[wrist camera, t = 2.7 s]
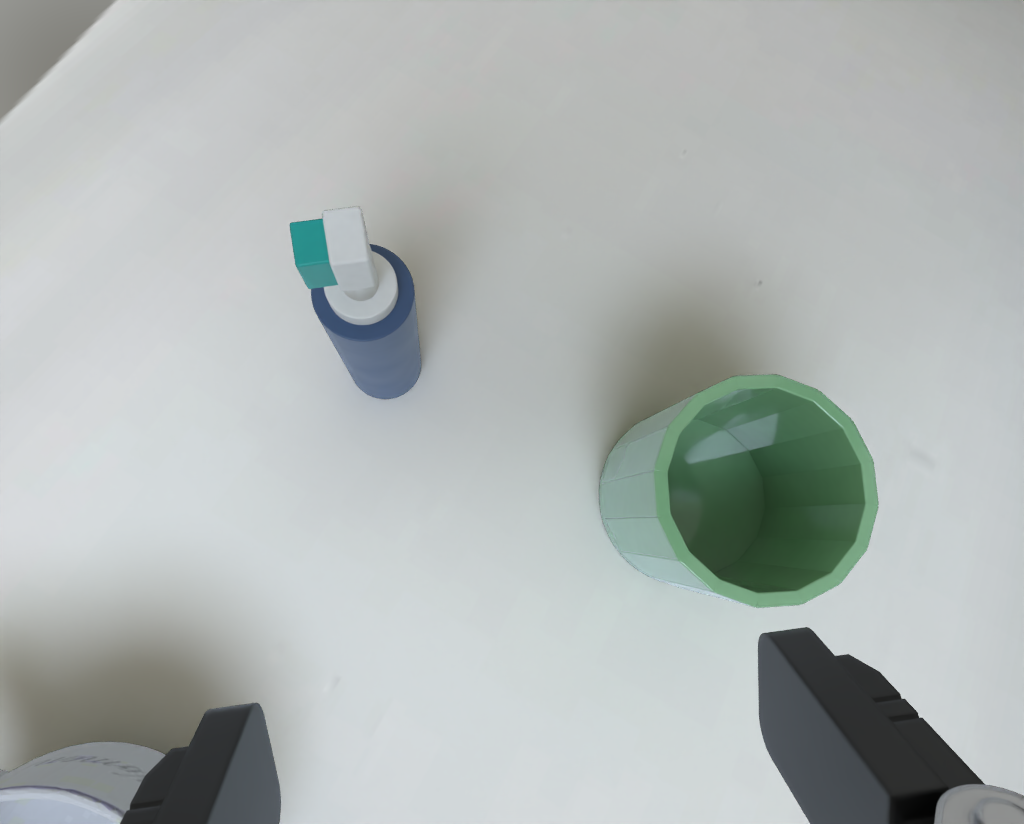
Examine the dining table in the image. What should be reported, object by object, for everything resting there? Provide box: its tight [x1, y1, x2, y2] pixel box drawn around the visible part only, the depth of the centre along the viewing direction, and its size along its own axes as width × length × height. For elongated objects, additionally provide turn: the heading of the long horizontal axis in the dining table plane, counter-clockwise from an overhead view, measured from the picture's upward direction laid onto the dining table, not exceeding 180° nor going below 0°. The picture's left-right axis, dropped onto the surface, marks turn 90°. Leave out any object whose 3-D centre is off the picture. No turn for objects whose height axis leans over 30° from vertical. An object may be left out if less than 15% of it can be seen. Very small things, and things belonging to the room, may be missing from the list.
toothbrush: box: [290, 206, 421, 399], centre depth 27 cm, size 3×3×16 cm
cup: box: [599, 374, 878, 608], centre depth 30 cm, size 8×8×9 cm
